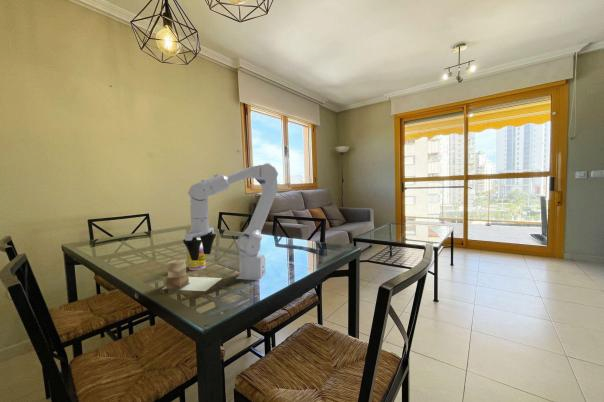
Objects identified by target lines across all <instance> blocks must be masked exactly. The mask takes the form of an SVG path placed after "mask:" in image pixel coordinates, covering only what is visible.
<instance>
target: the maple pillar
mask: <svg viewBox="0 0 604 402" xmlns="http://www.w3.org/2000/svg"><path fill="white" fill-rule="evenodd" d="M186 263H187V261H186V260H185V259H174V260H172V261H169V262H167V263H166V265H167V277H168V278H180V277H182V276H184V275H186V274H187V264H186Z"/></svg>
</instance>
